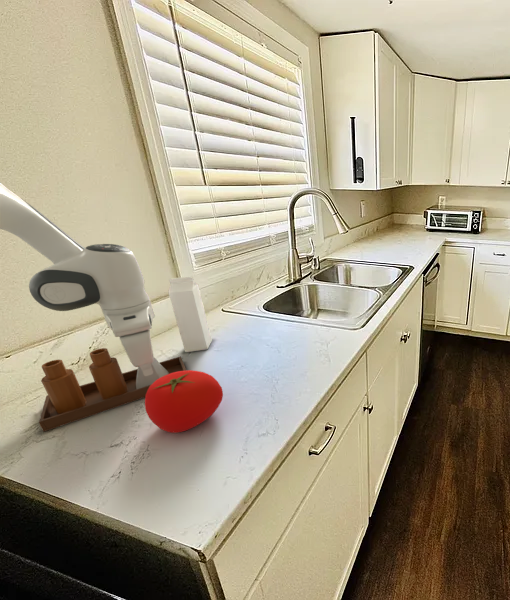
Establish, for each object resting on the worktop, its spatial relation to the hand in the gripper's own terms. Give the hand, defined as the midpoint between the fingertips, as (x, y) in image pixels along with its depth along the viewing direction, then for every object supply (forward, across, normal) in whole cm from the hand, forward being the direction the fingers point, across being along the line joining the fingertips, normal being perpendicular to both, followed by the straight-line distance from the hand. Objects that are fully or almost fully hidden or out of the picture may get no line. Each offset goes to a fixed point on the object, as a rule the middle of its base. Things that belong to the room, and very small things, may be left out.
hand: (147, 365), depth 80 cm
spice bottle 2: (+5, 0, -7) cm, 9 cm away
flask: (+5, 0, 0) cm, 5 cm away
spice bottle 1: (+5, 0, -15) cm, 16 cm away
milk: (+5, -14, +13) cm, 20 cm away
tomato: (+5, +22, +5) cm, 23 cm away
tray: (+5, 0, -6) cm, 8 cm away
